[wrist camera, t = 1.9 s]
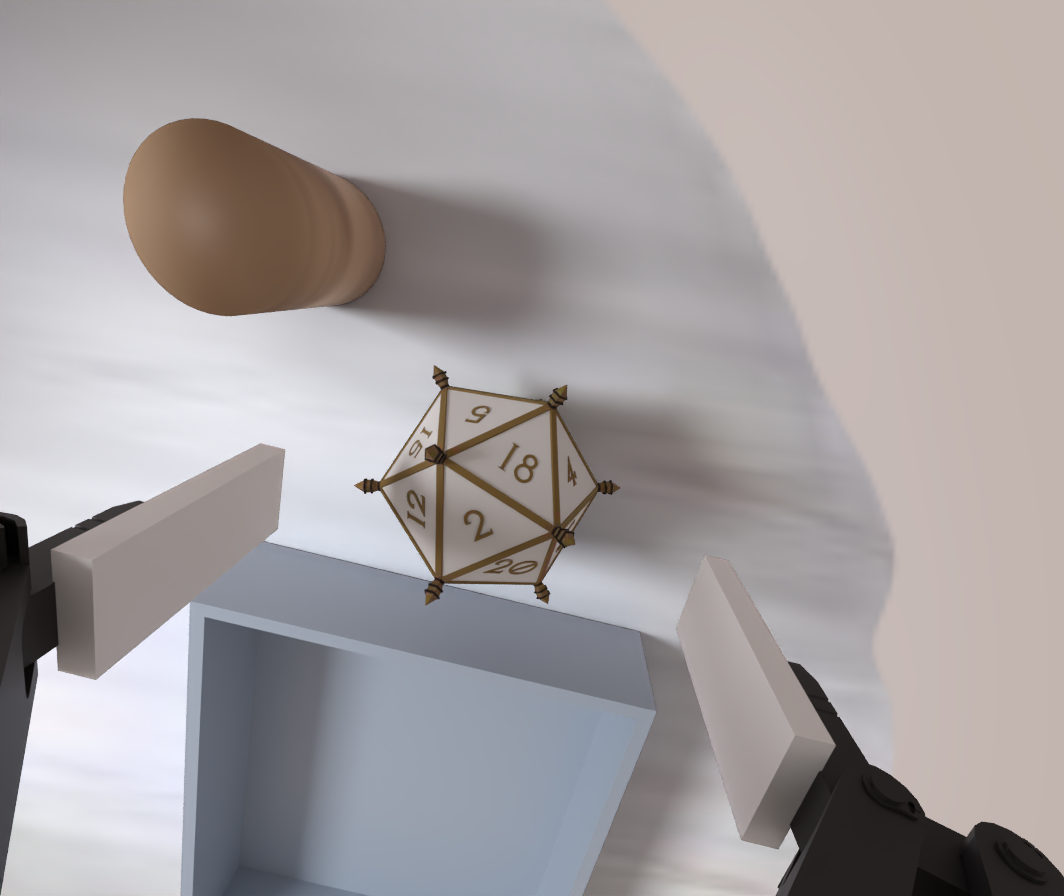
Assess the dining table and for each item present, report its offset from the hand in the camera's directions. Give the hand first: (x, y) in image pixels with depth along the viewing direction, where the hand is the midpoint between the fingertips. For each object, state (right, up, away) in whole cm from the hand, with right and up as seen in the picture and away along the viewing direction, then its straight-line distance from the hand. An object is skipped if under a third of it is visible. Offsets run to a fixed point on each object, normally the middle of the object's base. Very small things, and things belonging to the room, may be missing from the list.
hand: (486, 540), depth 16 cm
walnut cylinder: (-7, +11, +5) cm, 14 cm away
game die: (0, +3, +8) cm, 8 cm away
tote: (-5, -15, +13) cm, 20 cm away
